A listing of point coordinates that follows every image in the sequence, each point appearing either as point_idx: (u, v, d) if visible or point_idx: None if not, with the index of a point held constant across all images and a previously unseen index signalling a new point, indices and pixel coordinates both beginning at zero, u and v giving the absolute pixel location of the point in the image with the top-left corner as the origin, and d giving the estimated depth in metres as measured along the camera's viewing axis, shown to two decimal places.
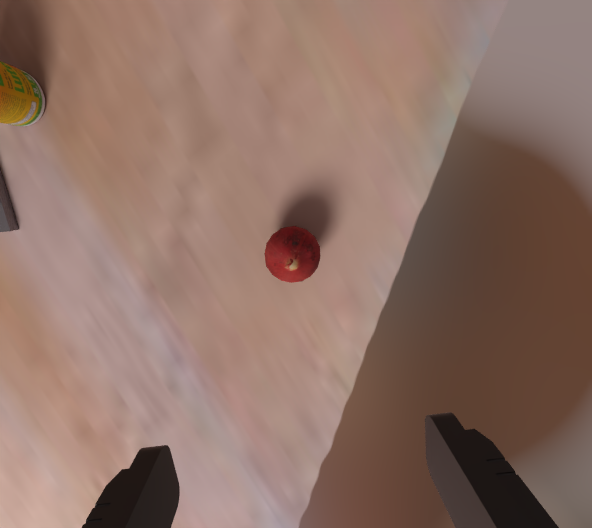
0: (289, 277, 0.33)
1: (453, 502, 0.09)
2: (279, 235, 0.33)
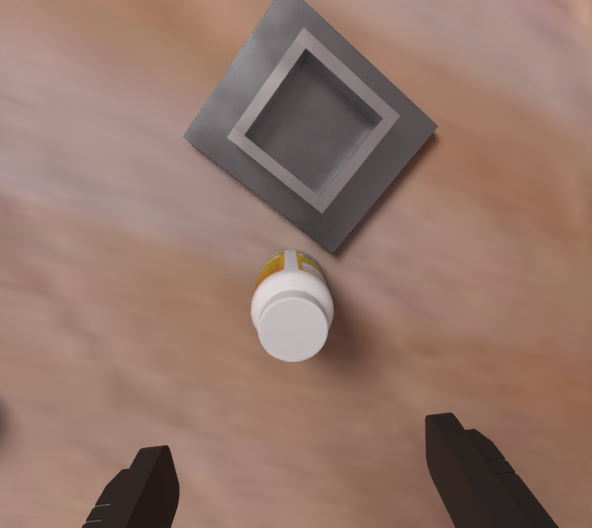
0: None
1: (453, 502, 0.09)
2: None
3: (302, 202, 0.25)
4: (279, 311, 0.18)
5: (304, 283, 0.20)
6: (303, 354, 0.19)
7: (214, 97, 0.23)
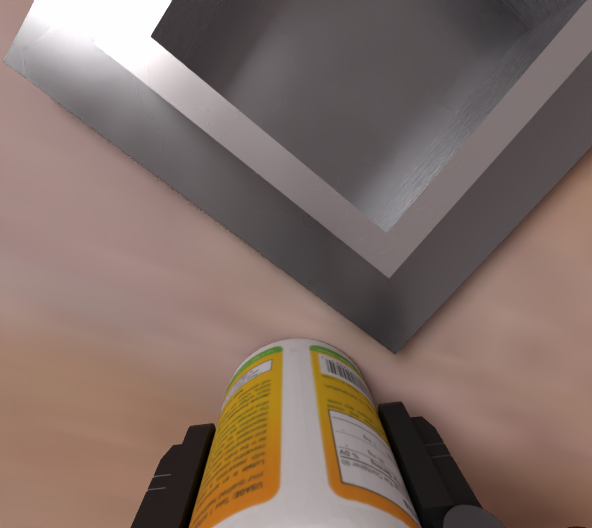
0: None
1: None
2: None
3: (327, 237, 0.10)
4: None
5: None
6: None
7: None
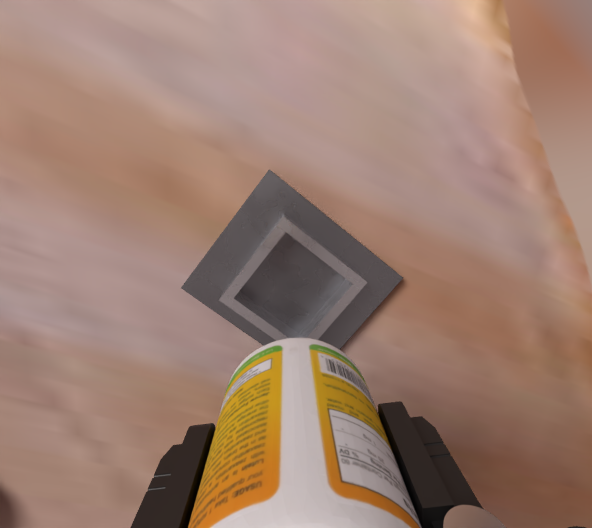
0: None
1: None
2: None
3: None
4: None
5: None
6: None
7: (208, 257, 0.27)
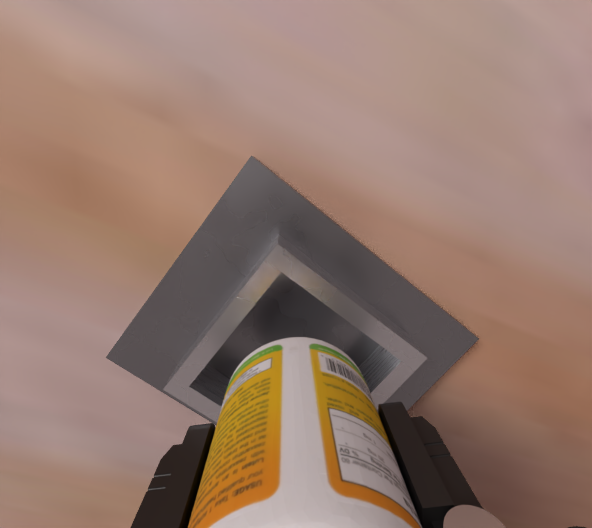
0: None
1: None
2: None
3: None
4: None
5: None
6: None
7: (149, 308, 0.16)
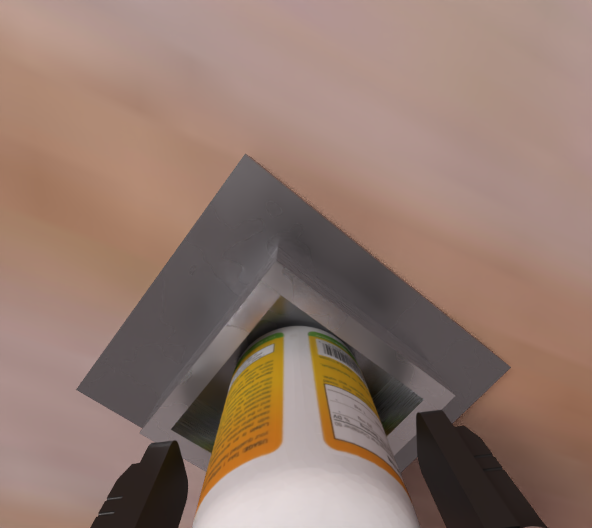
0: None
1: (442, 497, 0.09)
2: None
3: None
4: None
5: (349, 518, 0.06)
6: None
7: (126, 333, 0.13)
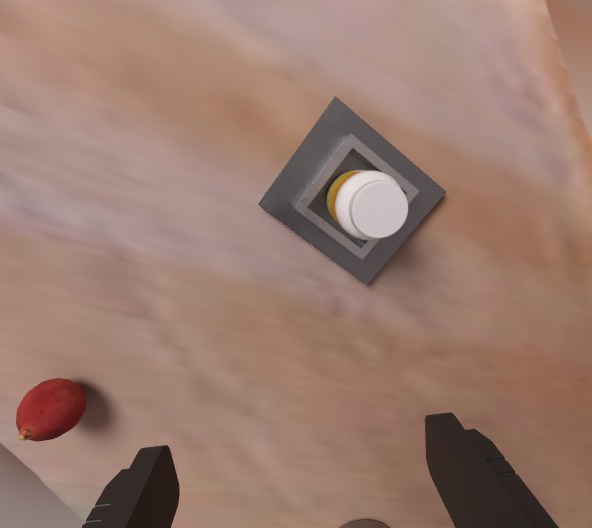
0: (21, 413, 0.32)
1: (453, 502, 0.09)
2: (70, 420, 0.34)
3: (345, 248, 0.34)
4: (370, 193, 0.23)
5: (383, 178, 0.25)
6: (387, 231, 0.23)
7: (282, 176, 0.32)
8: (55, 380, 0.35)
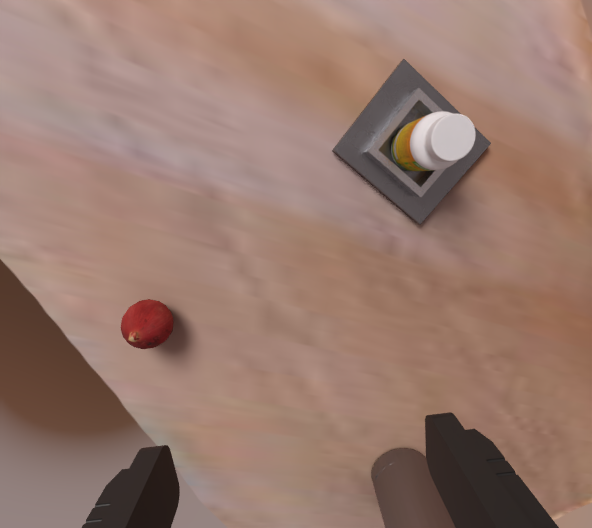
0: (129, 321, 0.38)
1: (453, 502, 0.09)
2: (165, 332, 0.40)
3: (403, 191, 0.40)
4: (446, 122, 0.29)
5: None
6: (458, 155, 0.30)
7: (355, 125, 0.38)
8: (151, 300, 0.41)
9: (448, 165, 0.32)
